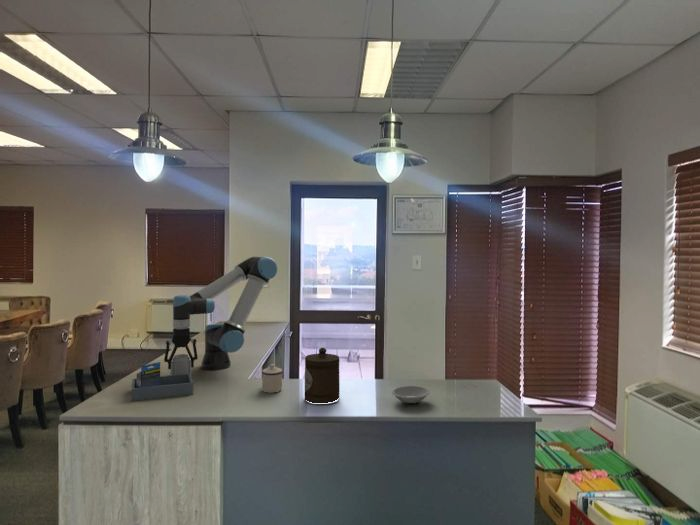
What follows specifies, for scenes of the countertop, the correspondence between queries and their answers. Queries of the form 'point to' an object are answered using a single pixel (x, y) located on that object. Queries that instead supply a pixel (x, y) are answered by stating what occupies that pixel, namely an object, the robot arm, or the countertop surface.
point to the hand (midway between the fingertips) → (180, 375)
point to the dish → (410, 393)
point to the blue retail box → (149, 376)
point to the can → (180, 364)
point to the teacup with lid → (272, 379)
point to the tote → (164, 388)
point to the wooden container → (321, 377)
